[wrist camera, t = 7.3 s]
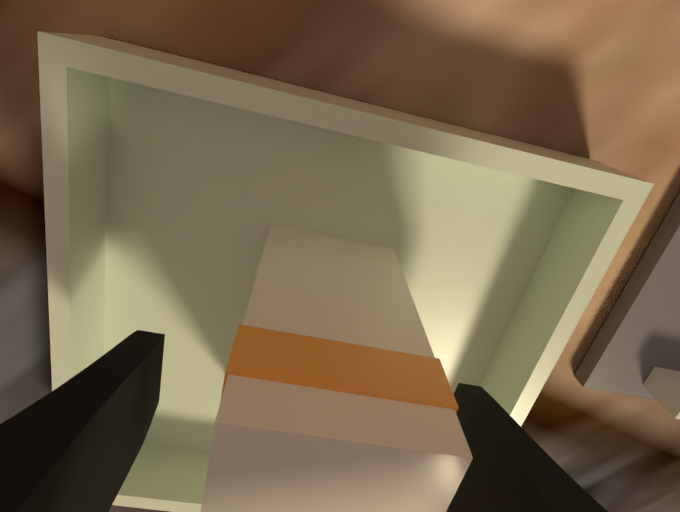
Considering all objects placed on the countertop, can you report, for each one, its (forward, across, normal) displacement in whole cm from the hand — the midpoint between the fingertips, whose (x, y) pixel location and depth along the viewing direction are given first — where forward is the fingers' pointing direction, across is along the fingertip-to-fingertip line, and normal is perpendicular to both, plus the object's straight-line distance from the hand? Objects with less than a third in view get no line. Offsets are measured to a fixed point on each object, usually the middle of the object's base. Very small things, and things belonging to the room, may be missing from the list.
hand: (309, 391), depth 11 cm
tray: (+3, 0, 0) cm, 3 cm away
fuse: (+3, 0, 0) cm, 3 cm away
